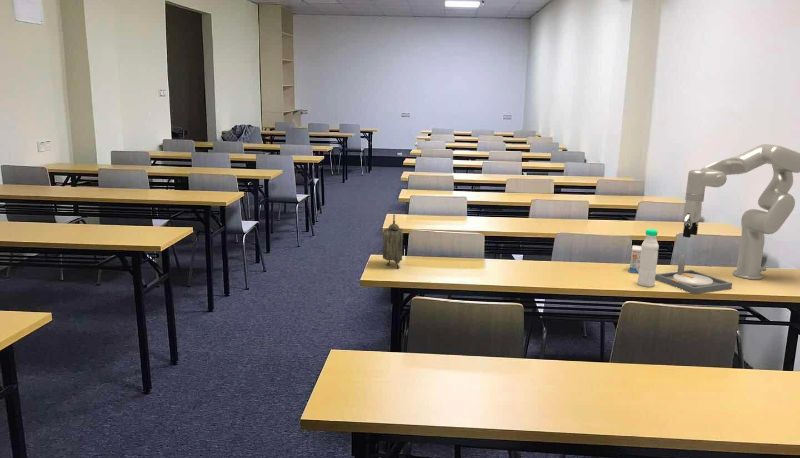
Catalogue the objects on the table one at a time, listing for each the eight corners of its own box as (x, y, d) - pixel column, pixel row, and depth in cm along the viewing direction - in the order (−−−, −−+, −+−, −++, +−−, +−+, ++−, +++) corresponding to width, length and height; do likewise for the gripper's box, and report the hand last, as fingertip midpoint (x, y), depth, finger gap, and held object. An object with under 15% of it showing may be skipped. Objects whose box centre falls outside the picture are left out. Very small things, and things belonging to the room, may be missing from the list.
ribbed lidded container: (401, 270, 284) (402, 217, 279) (382, 269, 284) (383, 217, 279) (402, 261, 298) (403, 212, 293) (383, 261, 299) (384, 211, 293)
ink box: (629, 272, 287) (631, 248, 285) (629, 268, 295) (631, 244, 292) (648, 274, 284) (651, 250, 282) (648, 270, 292) (651, 246, 289)
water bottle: (655, 287, 264) (662, 232, 259) (638, 286, 266) (644, 230, 260) (652, 283, 271) (658, 228, 266) (636, 281, 272) (641, 227, 267)
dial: (720, 284, 266) (724, 261, 264) (693, 288, 260) (696, 264, 258) (690, 274, 281) (693, 252, 279) (664, 277, 275) (667, 255, 273)
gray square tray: (690, 275, 285) (691, 269, 284) (731, 288, 265) (732, 282, 264) (654, 279, 277) (655, 273, 276) (693, 293, 257) (694, 287, 256)
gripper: (693, 194, 282) (688, 231, 286) (678, 198, 270) (673, 237, 274) (710, 196, 277) (705, 234, 280) (696, 200, 265) (691, 240, 268)
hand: (689, 235), depth 277 cm, fingers open, 7 cm apart
